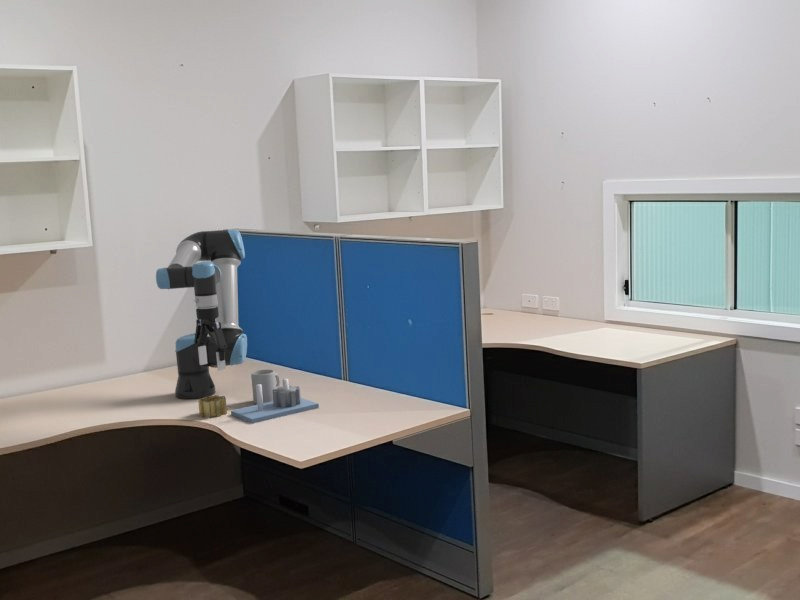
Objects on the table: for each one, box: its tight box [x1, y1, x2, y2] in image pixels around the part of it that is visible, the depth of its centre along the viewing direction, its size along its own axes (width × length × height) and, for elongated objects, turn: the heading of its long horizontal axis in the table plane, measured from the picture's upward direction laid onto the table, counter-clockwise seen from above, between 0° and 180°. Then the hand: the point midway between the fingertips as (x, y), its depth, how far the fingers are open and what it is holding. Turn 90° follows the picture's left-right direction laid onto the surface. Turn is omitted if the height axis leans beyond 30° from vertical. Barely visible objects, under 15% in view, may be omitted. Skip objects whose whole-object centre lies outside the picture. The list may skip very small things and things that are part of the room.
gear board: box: [230, 378, 320, 424], centre depth 325 cm, size 16×26×10 cm, turn 126°
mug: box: [250, 369, 281, 405], centre depth 341 cm, size 12×8×11 cm
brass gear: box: [197, 394, 228, 419], centre depth 327 cm, size 10×10×6 cm
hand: (212, 367), depth 325 cm, fingers open, 13 cm apart
